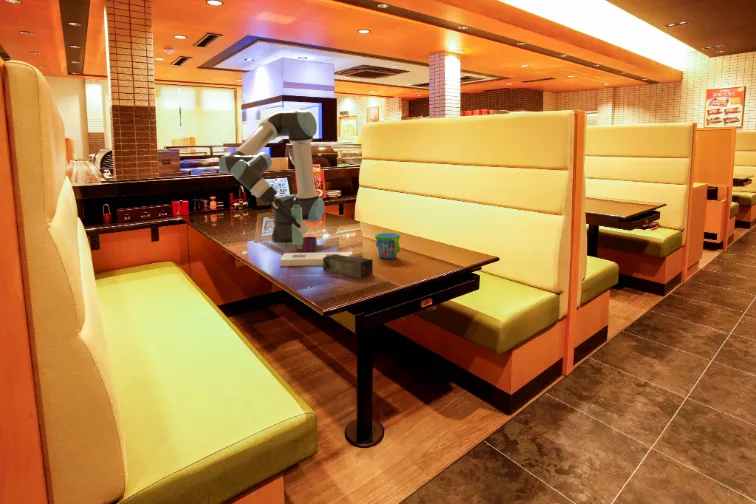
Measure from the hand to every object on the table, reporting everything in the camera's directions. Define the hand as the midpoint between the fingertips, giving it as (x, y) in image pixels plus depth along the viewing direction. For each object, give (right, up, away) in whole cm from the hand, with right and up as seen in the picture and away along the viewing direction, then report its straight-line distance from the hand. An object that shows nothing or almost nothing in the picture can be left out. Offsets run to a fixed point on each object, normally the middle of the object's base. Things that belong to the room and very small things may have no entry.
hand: (306, 231), depth 199 cm
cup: (-4, -9, +23) cm, 25 cm away
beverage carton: (+18, -17, -12) cm, 27 cm away
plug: (-4, -5, +1) cm, 6 cm away
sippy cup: (+34, -11, +12) cm, 38 cm away
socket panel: (+4, -13, +4) cm, 14 cm away
